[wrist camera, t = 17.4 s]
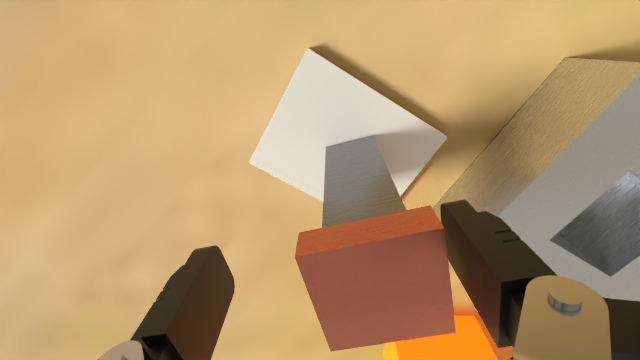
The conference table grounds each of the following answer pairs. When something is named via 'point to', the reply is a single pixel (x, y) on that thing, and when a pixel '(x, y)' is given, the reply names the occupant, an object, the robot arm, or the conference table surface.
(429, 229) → the key
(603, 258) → the block
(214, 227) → the conference table surface
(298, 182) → the pad
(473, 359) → the orange juice
